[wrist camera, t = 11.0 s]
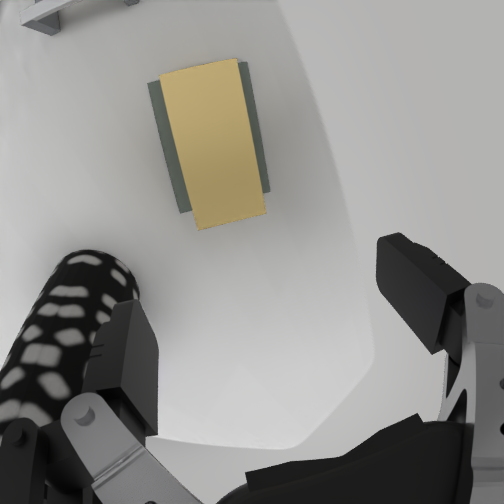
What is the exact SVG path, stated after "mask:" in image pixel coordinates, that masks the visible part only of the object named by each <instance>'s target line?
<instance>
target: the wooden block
mask: <svg viewBox="0 0 504 504" xmlns="http://www.w3.org/2000/svg"><path fill="white" fill-rule="evenodd" d="M159 78H160V82H161V87H162V91H163V95H164V100H165V104H166V108H167V113H168V117H169V121H170V125H171V129H172V133H173V137H174V141H175V145H176V149H177V153H178V157H179V161H180V165H181V169H182V173H183V177H184V181H185V184H186V188H187V192H188V196H189V199H190V203H191V207H192V210H193V214H194V218H195V221H196V225H197V228H198V231H199V230H202V229H206V228H210V227H214V226H218V225H222V224H226V223H230V222H234V221H238V220H242V219H246V218H250V217H254V216H258V215H263V214H266V208H265V203H264V197H263V192H262V187H261V181H260V176H259V170H258V165H257V160H256V154H255V149H254V144H253V139H252V133H251V128H250V123H249V118H248V113H247V108H246V103H245V98H244V93H243V88H242V83H241V78H240V73H239V68H238V63H237V58H234V59H228V60H223V61H217V62H212V63H208V64H203V65H198V66H194V67H189V68H185V69H181V70H177V71H173V72H169V73H166V74H162V75H159Z"/></svg>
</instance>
